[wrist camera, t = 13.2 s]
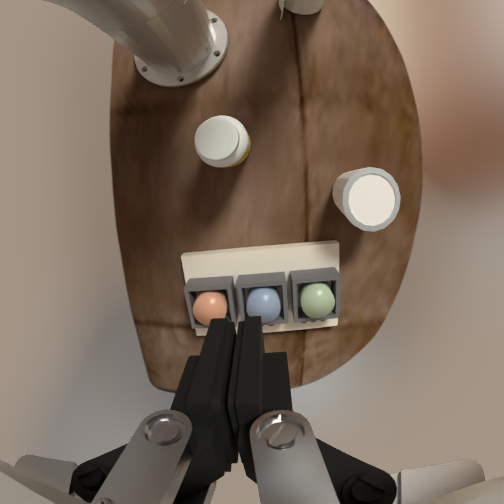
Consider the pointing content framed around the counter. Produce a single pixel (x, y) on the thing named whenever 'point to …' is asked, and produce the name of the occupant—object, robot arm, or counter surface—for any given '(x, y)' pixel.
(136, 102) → the counter surface
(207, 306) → the button one
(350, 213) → the white tapered cup
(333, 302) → the button three
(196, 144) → the supplement bottle
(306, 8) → the paper towel roll
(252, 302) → the button two
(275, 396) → the robot arm
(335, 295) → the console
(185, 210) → the counter surface
